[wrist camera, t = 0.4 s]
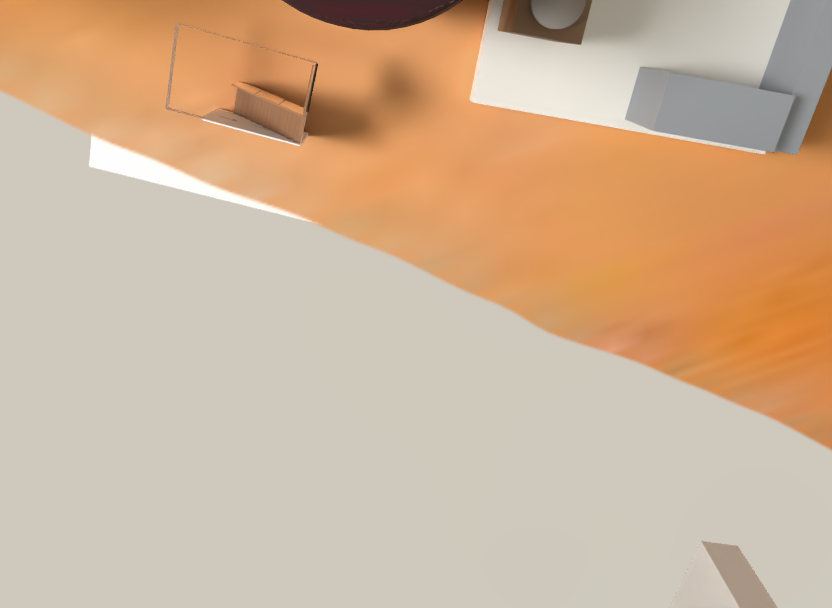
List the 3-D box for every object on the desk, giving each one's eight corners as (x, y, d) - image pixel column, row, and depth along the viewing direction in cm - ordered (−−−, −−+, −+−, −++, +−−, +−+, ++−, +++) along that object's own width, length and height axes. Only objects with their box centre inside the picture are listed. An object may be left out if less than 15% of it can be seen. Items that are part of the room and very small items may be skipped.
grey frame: (326, 58, 34) (314, 65, 29) (310, 134, 35) (297, 153, 30) (200, 22, 33) (165, 23, 28) (189, 102, 34) (155, 116, 29)
